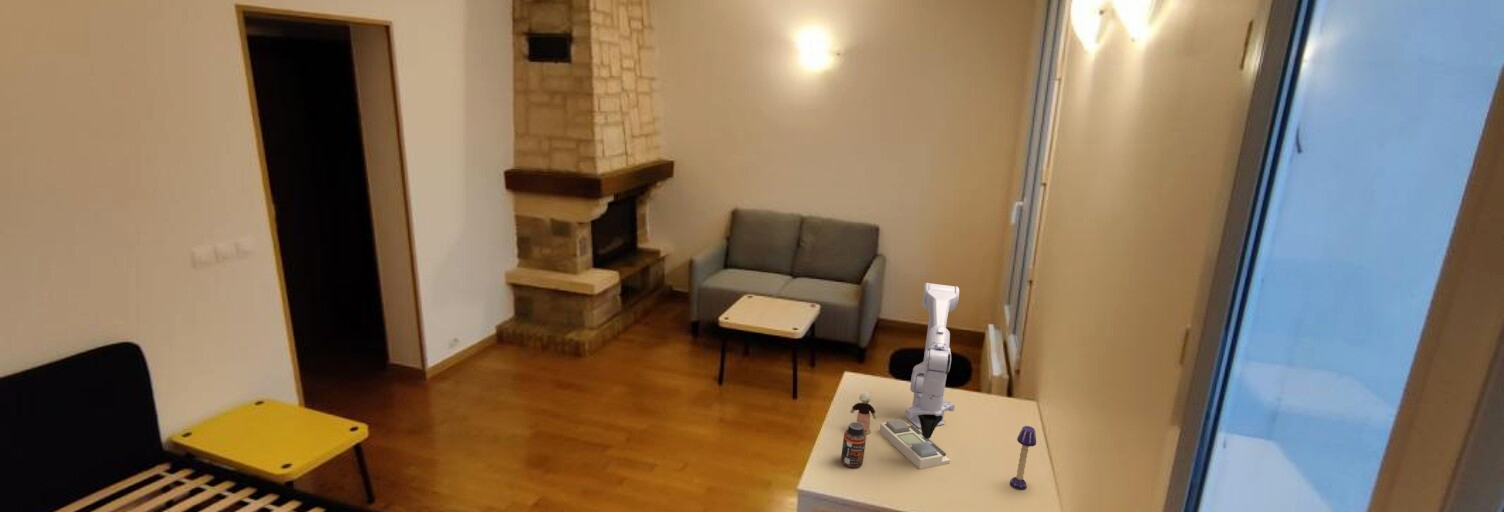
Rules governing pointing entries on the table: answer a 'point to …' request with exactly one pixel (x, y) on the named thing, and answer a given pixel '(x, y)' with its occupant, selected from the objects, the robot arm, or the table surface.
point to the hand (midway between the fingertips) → (926, 436)
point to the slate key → (924, 449)
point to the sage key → (909, 439)
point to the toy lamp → (1023, 455)
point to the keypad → (909, 452)
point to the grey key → (897, 426)
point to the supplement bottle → (853, 445)
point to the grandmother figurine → (864, 411)
